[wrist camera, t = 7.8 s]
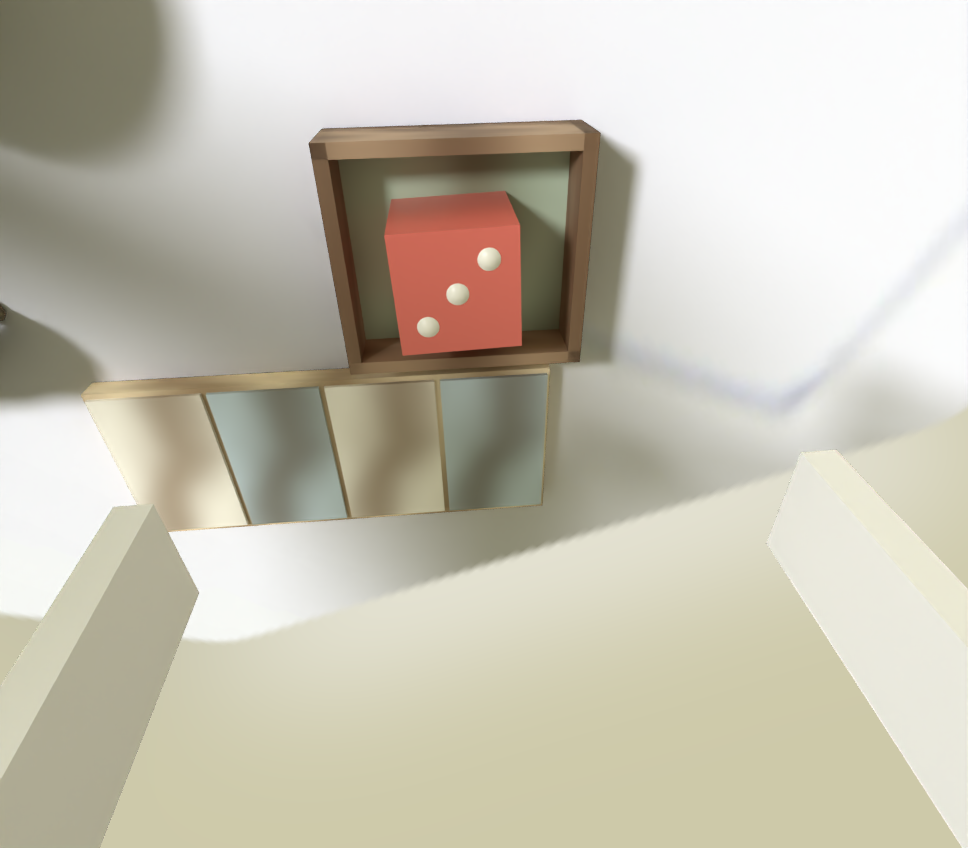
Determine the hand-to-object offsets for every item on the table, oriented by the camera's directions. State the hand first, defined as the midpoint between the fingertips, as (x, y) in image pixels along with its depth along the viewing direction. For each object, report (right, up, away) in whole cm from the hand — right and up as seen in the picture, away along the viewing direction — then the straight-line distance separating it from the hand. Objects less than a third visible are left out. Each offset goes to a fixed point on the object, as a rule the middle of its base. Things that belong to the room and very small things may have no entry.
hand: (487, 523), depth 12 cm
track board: (-9, +1, +21) cm, 23 cm away
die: (-2, +10, +14) cm, 18 cm away
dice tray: (-1, +11, +15) cm, 18 cm away
